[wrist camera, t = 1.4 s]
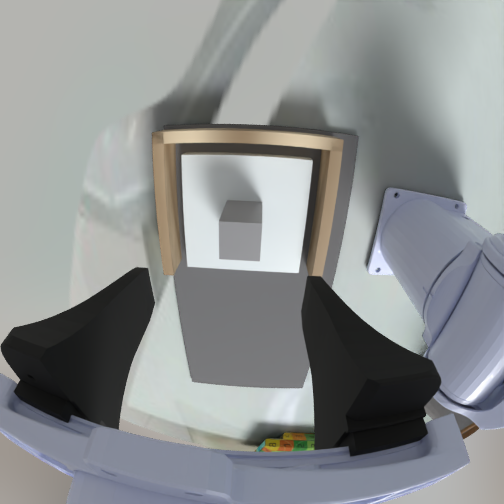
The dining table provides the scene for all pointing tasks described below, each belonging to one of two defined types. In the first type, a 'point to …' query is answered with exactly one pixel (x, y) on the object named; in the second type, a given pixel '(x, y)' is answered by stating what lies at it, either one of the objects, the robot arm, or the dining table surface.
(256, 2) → the dining table surface
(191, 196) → the cover plate
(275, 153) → the rubber mat
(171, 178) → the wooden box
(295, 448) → the puzzle game
